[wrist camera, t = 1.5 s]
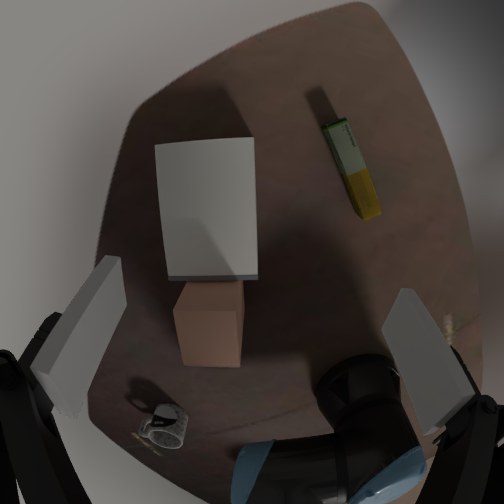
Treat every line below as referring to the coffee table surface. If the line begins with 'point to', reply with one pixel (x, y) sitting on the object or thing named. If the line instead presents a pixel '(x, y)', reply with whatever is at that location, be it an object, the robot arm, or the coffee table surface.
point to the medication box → (352, 168)
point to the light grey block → (208, 209)
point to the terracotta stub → (210, 323)
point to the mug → (166, 426)
